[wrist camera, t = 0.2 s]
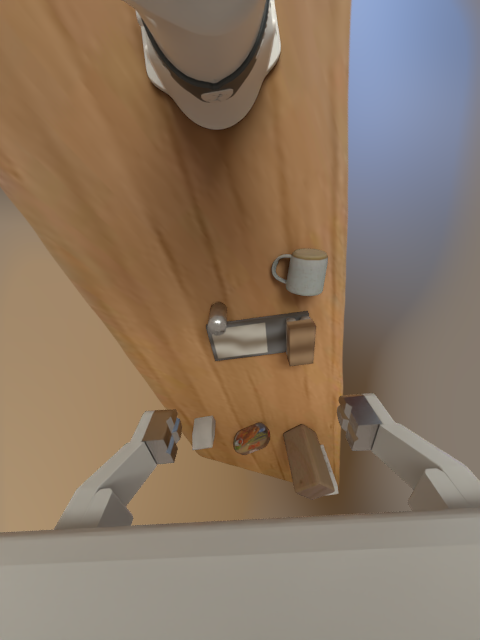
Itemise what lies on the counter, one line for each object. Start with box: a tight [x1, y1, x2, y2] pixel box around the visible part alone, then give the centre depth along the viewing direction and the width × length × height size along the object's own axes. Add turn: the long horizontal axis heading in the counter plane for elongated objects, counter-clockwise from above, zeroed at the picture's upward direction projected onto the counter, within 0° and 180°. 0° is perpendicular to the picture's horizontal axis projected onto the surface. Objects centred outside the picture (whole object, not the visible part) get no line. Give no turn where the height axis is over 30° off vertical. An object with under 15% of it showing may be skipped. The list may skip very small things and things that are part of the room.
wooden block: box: [283, 425, 335, 500], centre depth 78 cm, size 10×10×20 cm
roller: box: [208, 302, 227, 336], centre depth 49 cm, size 4×4×8 cm
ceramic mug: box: [272, 249, 328, 296], centre depth 44 cm, size 11×8×8 cm
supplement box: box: [320, 445, 338, 495], centre depth 89 cm, size 9×9×15 cm
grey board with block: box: [206, 311, 316, 366], centre depth 55 cm, size 12×26×7 cm, turn 98°
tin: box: [233, 423, 270, 455], centre depth 80 cm, size 15×3×8 cm, turn 125°
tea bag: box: [192, 416, 215, 450], centre depth 75 cm, size 4×7×10 cm, turn 103°
